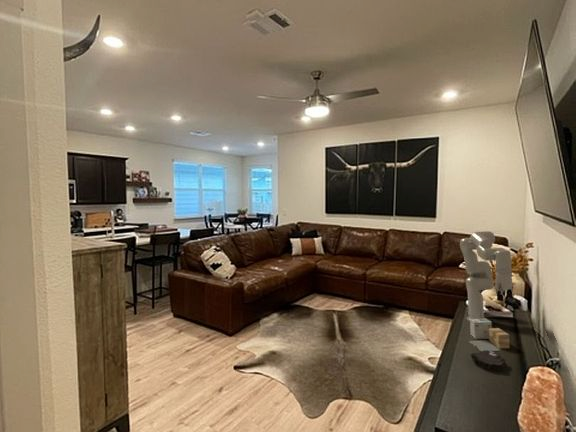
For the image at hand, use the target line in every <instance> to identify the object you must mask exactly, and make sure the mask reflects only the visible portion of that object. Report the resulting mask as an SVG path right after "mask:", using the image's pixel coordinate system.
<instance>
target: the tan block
mask: <svg viewBox="0 0 576 432" xmlns="http://www.w3.org/2000/svg"><path fill="white" fill-rule="evenodd" d="M488 342H490V343H491V344H493V345H494V346H495V347H497V348H498V349H510V348H511V347H510V345H511V344H510V334H509V333H507V332H505V331H504V330H503V329H501V328H499V327H495V328H493V327H492V328H490V329H489V339H488Z"/></svg>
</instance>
